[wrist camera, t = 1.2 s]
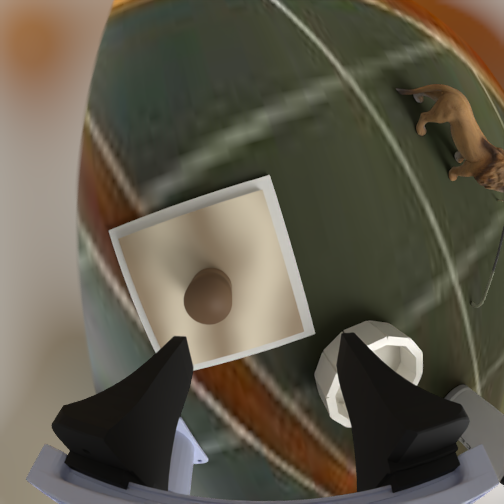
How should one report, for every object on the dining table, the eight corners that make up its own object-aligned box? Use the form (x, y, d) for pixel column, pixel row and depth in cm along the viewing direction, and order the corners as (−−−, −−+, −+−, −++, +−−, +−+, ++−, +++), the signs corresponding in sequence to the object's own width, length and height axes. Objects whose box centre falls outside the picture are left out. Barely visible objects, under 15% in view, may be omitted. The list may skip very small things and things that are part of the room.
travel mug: (473, 380, 28) (556, 443, 8) (453, 416, 28) (524, 485, 8) (450, 382, 27) (542, 459, 7) (429, 421, 28) (504, 503, 8)
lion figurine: (480, 173, 24) (535, 168, 15) (466, 206, 24) (526, 207, 15) (401, 78, 22) (452, 43, 13) (381, 106, 22) (436, 70, 13)
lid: (172, 365, 23) (162, 392, 19) (121, 238, 21) (98, 243, 17) (301, 327, 23) (316, 350, 19) (261, 190, 22) (268, 184, 17)
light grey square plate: (168, 373, 24) (167, 376, 23) (110, 230, 22) (108, 230, 21) (313, 331, 24) (315, 333, 24) (268, 175, 22) (269, 174, 22)
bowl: (324, 417, 26) (335, 440, 22) (305, 344, 24) (318, 365, 20) (404, 381, 26) (421, 398, 22) (398, 306, 24) (421, 319, 20)
